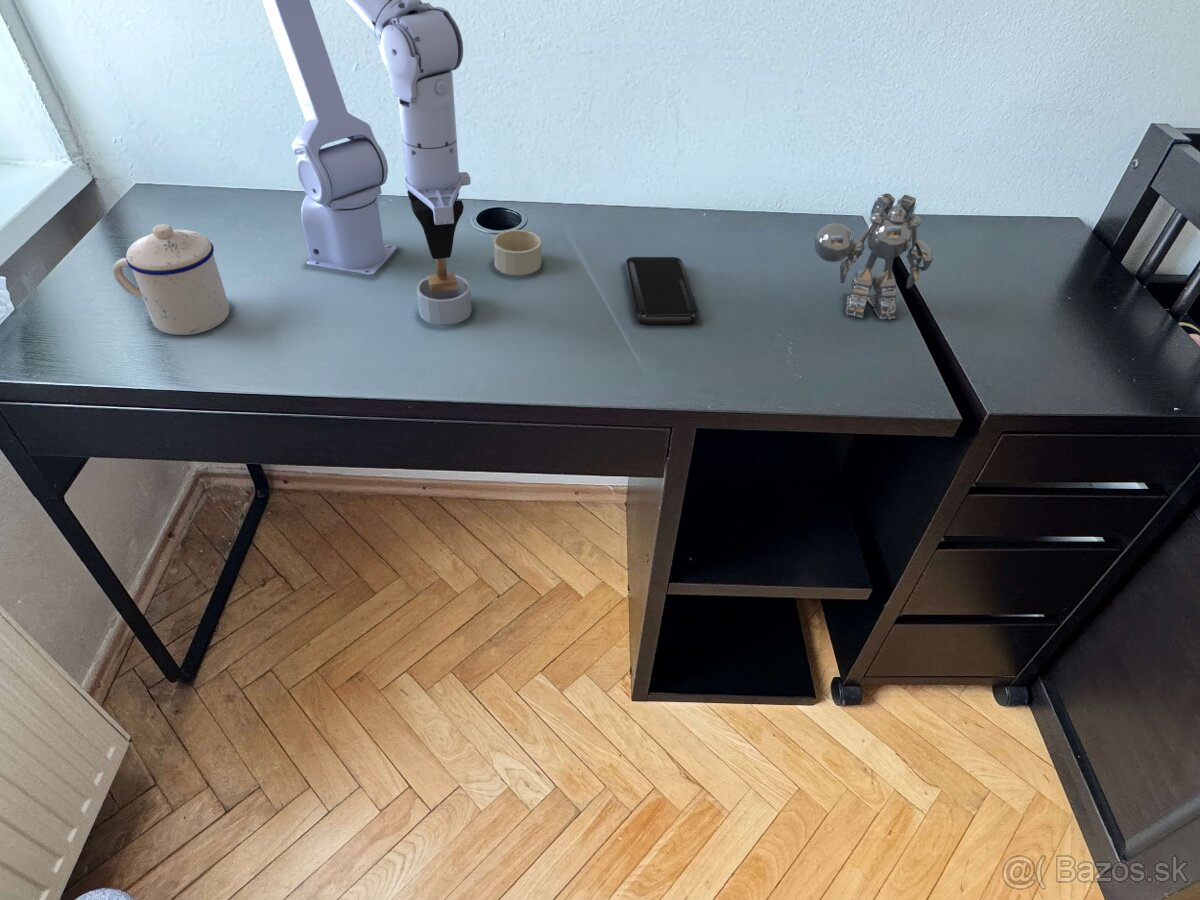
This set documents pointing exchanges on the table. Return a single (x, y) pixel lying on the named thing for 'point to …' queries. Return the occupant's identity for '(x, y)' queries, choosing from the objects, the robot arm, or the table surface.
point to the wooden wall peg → (442, 278)
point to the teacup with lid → (176, 280)
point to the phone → (660, 291)
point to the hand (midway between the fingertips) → (440, 253)
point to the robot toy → (877, 253)
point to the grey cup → (444, 303)
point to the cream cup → (517, 252)
